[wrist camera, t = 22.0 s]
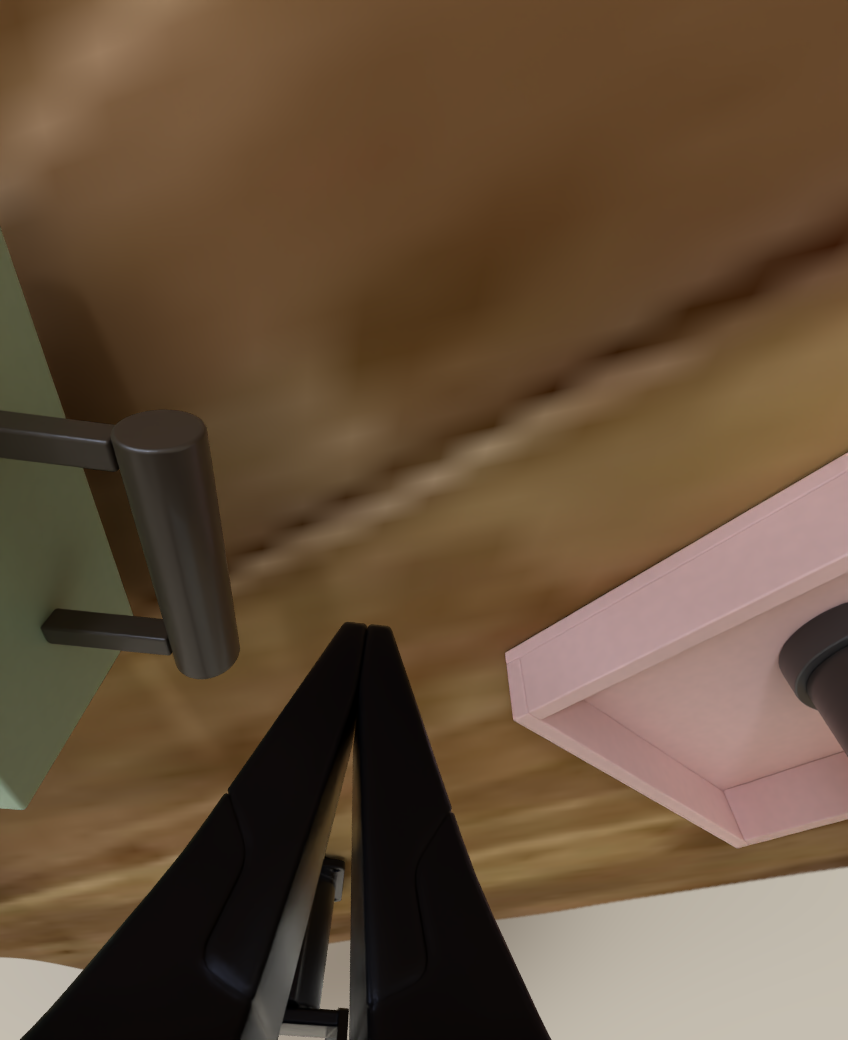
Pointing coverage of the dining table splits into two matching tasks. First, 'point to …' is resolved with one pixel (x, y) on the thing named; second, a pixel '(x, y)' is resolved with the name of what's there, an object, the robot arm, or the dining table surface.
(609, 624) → the tray
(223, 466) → the dining table surface
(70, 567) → the drawer
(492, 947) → the robot arm
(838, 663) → the pepper mill
